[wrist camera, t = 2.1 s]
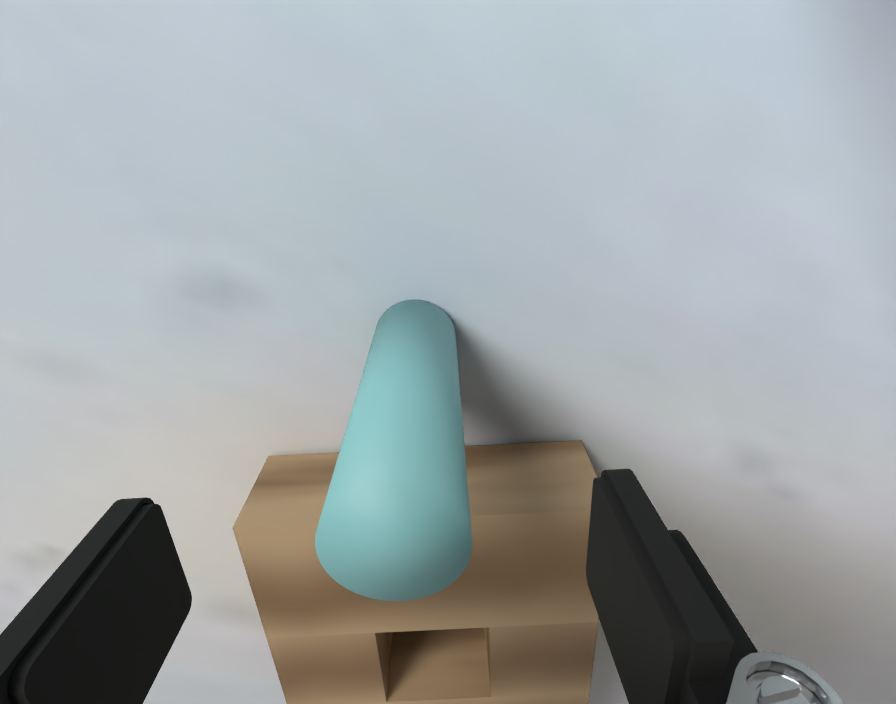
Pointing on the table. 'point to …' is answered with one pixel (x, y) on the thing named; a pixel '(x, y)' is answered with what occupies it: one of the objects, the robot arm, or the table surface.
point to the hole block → (443, 613)
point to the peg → (401, 466)
